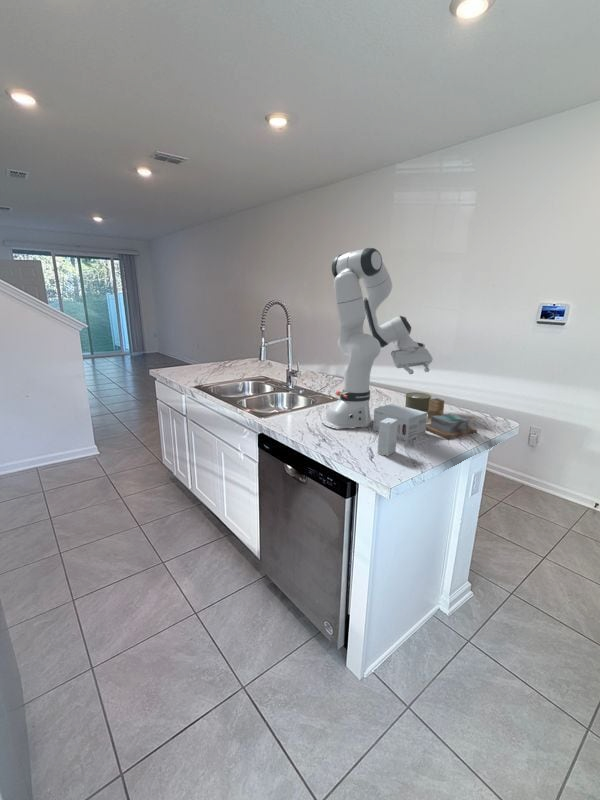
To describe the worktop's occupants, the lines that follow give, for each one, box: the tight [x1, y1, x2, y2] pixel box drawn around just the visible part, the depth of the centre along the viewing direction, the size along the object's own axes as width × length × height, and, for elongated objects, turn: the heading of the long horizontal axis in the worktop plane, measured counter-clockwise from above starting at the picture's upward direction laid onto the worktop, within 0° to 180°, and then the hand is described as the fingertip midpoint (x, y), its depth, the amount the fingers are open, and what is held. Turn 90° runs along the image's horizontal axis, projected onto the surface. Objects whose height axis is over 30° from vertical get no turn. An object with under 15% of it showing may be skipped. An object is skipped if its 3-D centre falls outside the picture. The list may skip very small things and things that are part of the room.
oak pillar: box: [427, 398, 445, 420], centre depth 165 cm, size 4×4×9 cm
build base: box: [426, 412, 478, 440], centre depth 150 cm, size 16×14×6 cm
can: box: [404, 392, 432, 412], centre depth 181 cm, size 12×12×7 cm
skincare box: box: [377, 418, 398, 457], centre depth 128 cm, size 6×4×12 cm
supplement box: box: [372, 403, 428, 441], centre depth 150 cm, size 17×13×9 cm
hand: (419, 372), depth 172 cm, fingers open, 8 cm apart
